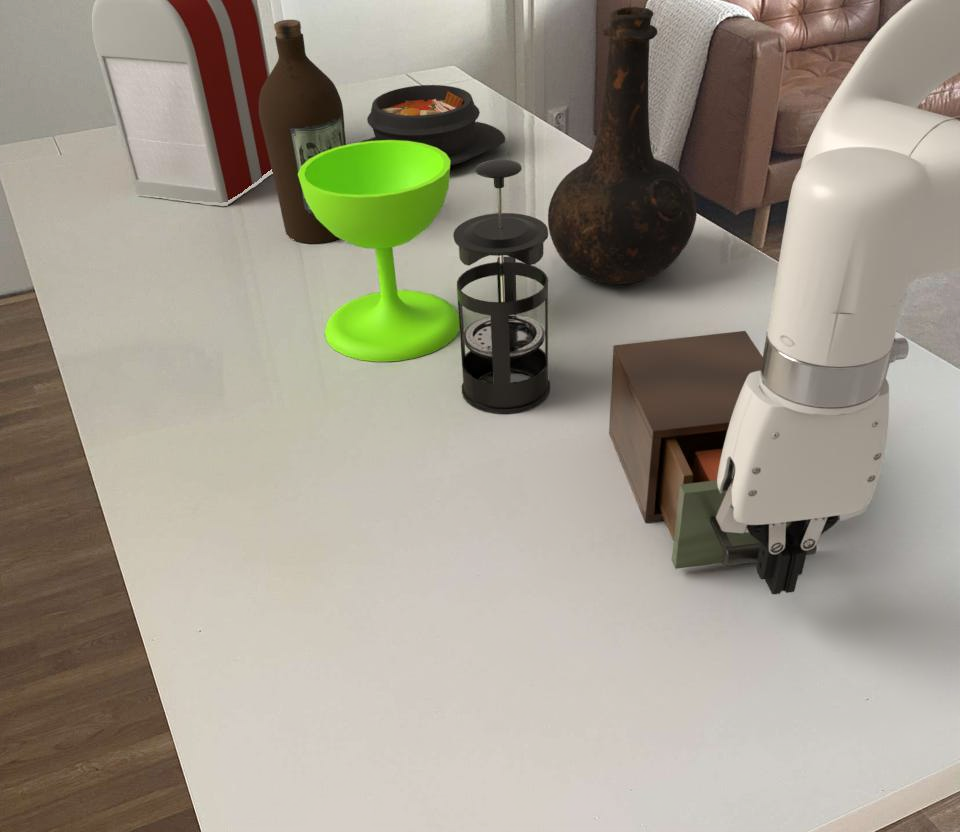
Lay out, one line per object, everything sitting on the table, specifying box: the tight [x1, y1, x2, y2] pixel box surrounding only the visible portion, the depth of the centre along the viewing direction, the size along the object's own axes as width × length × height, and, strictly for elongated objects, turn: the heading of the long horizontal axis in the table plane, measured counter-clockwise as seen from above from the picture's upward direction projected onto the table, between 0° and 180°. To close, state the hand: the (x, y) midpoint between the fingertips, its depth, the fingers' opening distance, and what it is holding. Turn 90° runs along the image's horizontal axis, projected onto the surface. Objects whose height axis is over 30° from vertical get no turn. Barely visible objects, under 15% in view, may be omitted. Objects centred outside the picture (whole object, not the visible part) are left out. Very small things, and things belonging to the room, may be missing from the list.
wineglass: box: [298, 140, 460, 363], centre depth 111 cm, size 16×16×18 cm
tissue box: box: [91, 0, 272, 203], centre depth 144 cm, size 16×18×27 cm
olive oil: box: [259, 19, 347, 244], centre depth 130 cm, size 11×11×25 cm
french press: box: [453, 158, 551, 414], centre depth 99 cm, size 12×9×23 cm
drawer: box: [656, 430, 818, 570], centre depth 84 cm, size 19×11×8 cm, turn 8°
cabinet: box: [608, 330, 763, 524], centre depth 92 cm, size 15×13×10 cm
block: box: [692, 449, 723, 483], centre depth 86 cm, size 5×5×5 cm
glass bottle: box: [547, 6, 698, 285], centre depth 116 cm, size 18×18×28 cm
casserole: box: [357, 84, 506, 167], centre depth 153 cm, size 25×19×8 cm
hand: (776, 581), depth 77 cm, fingers closed
